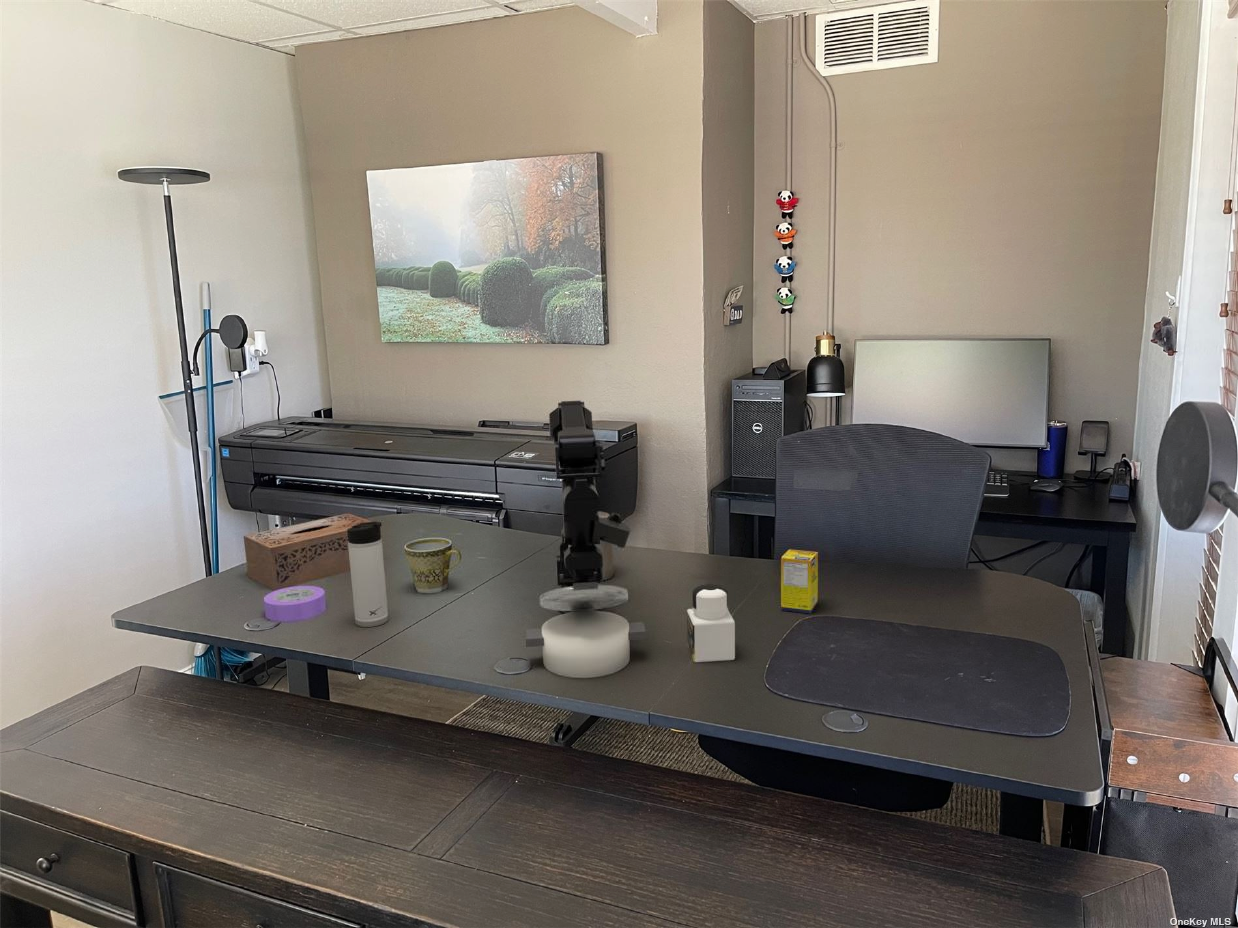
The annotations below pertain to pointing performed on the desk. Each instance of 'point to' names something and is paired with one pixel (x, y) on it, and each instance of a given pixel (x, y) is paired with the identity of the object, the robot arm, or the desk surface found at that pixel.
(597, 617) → the cooker body
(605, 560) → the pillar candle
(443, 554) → the ceramic cup
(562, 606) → the cooker lid
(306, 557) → the tissue box cover
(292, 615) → the masking tape
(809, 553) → the supplement box
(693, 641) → the medicine bottle
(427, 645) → the desk surface
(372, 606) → the travel mug
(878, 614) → the desk surface
